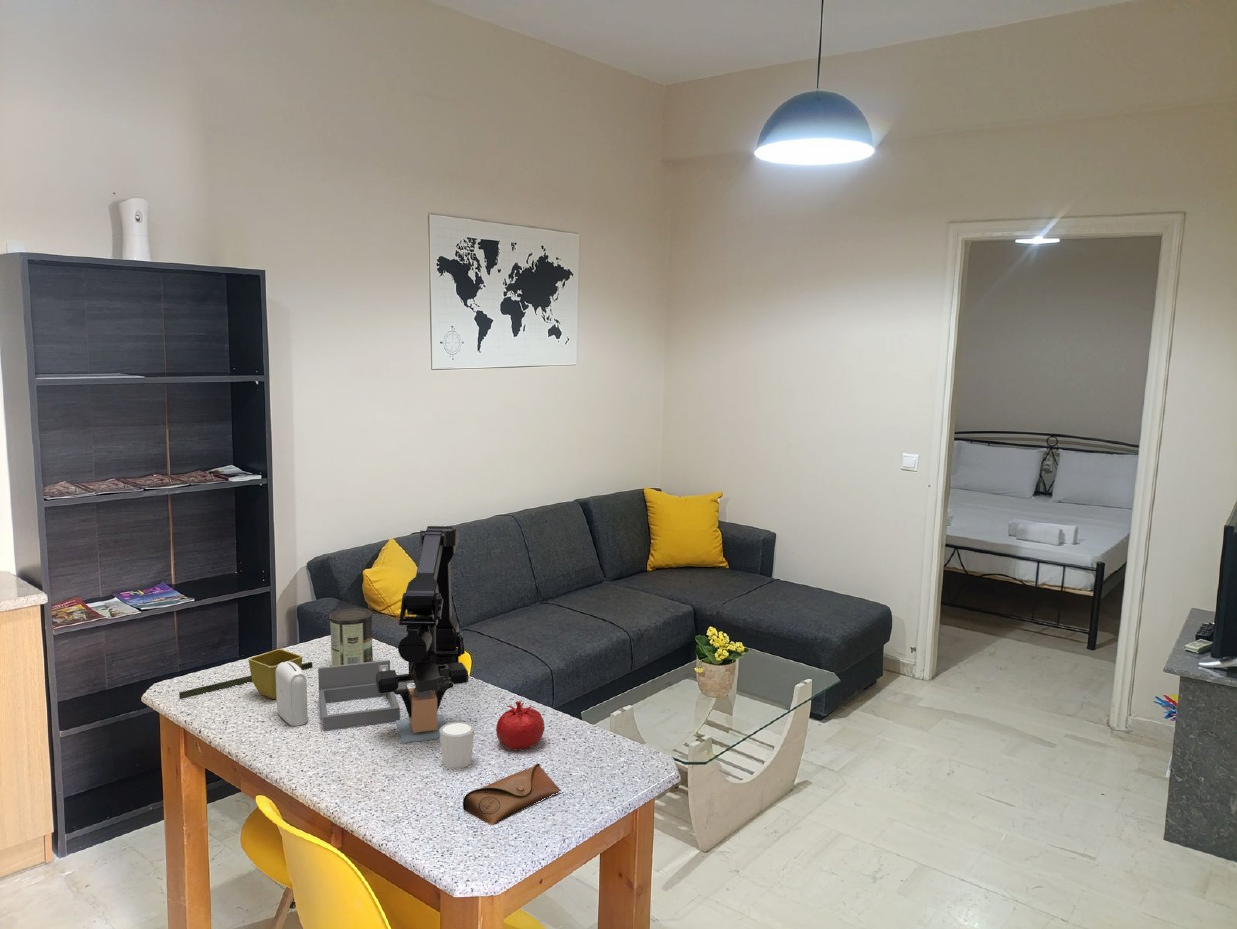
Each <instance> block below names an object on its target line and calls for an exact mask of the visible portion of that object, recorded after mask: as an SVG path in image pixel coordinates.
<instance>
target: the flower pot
mask: <svg viewBox="0 0 1237 929" xmlns="http://www.w3.org/2000/svg"><path fill="white" fill-rule="evenodd" d="M286 661H290V662H293V663H295V664H296V665H298V666H299V667H300V668H301V666H302V664H303V656H302V655H300V654H297V653H294V652H291V651H289V650H285V649H281V648H276V649H274V650H271V651H268V652H264V653H262V654H259V655H256V656H252V657H250V658H248V664H249V665H248V666H249V670H250V676H251V677H252V681H253V682H252V683H253V685H254V687H255V689H256V690H257V691H258V692H259V694H260V695H262V696H264V697H267V698H270V699H273V700H275V699H276V700H277V698H276V668H277V666H278V665H279V664H280V663H282V662H286Z"/></svg>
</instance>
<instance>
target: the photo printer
mask: <svg viewBox="0 0 1237 929" xmlns="http://www.w3.org/2000/svg"><path fill="white" fill-rule="evenodd" d="M307 685H308V684H307V676H306V673H304V670H301V668H300V667H299V666H298V665H296V664H295V663H293V662H290V661H286V662H282V663H280V664H279V665H278V666H277V668H276V710H277V714H278V715H279V717H281V718H282V719H283V720H284V721H285V722H286V723H287V724H288V725H290V726H293V727H296V726H302V725H304V724H306V723H307V722H308V718H309V717H308V714H309V713H308V712H309V711H308V689H307V688H308V686H307Z"/></svg>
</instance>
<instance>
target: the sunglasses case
mask: <svg viewBox="0 0 1237 929" xmlns="http://www.w3.org/2000/svg"><path fill="white" fill-rule="evenodd" d="M561 790H562V789H560V788H559V787H558V785H557V784H556V783H555V782H554V781H553V780H552V778H551V777H550V776H549V775H548V773H546V771H544V769H543V768H542V767H541V765H540V763H536V764H534V765H533V766H531V767H529V768H527V769H523V770H521V771H518V772H516V773H513V774H510V775H508V776H506V777H503V778H501V779H499V780H496V781H494V782H492V783H489V784H488V785H484V786H483V787H480V788H477V789H473V790H471V791H469V792H468V793H467V794H465V796H463V799H462V808H463V811H465V812H467V813H468V814H470V815H472V816H473V817H476V818H477V819H479V820H480V821H482V822H484V823H486V824H488V825H490V826H494V825H497V824H499V823H500V822H502V821H503V820H505V819H506V818H508V817H511V816H512V815H513V816H514V815H515V814H517V813H519V812H521V811H523V810H525V809H527V808H526V807H528V806H530V805H532V806H534V805H535V804H534V803H536V802H538V801H541V800H542V799H544V798H547V797H549V796H551V795H552V794H556V793H558V792H559V791H561ZM541 802H542V801H541ZM533 804H534V805H533ZM530 807H531V806H530ZM524 808H525V809H524ZM528 808H529V807H528ZM522 809H523V810H522Z"/></svg>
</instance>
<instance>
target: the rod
mask: <svg viewBox="0 0 1237 929" xmlns="http://www.w3.org/2000/svg"><path fill="white" fill-rule="evenodd" d="M309 668H310V669H313V661H310V662H305V663H304V662H303V663H302V666H301V670H302V671H304V670H305V671H306V670H309ZM247 682H251V683H253V681H252V677H251V675H247V676H243V677H238V678H234V679H230V680H226V681H222V682H218V683H214V684H213V683H212V684H210V685H209V684H208V685H204V686H200V687H195V688H192V689H188V690H183V691H179V692H178V694H179V699H180V700H182V699H186V698H191V697H196V696H199V695H203V693H204V694H207V693H206V692H208V693H213V692H216V690H217V691H220V690H219V689H221V690H225V689H229V687H230V688H233V687H232V686H234V687H236V686H235V685H238V686H241V685H245V684H244V683H246V684H248V683H247ZM212 691H213V692H212Z"/></svg>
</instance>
